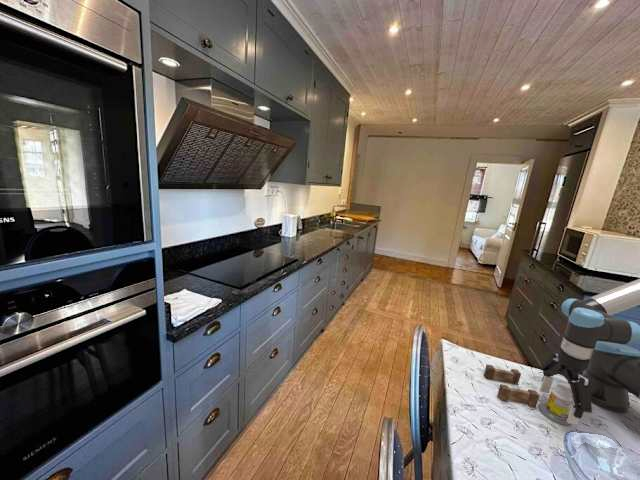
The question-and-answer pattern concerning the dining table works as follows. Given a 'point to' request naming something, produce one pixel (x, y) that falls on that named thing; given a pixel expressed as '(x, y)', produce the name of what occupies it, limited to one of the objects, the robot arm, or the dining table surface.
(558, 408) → the supplement bottle
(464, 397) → the dining table surface
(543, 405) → the slate coaster
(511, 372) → the walnut channel
